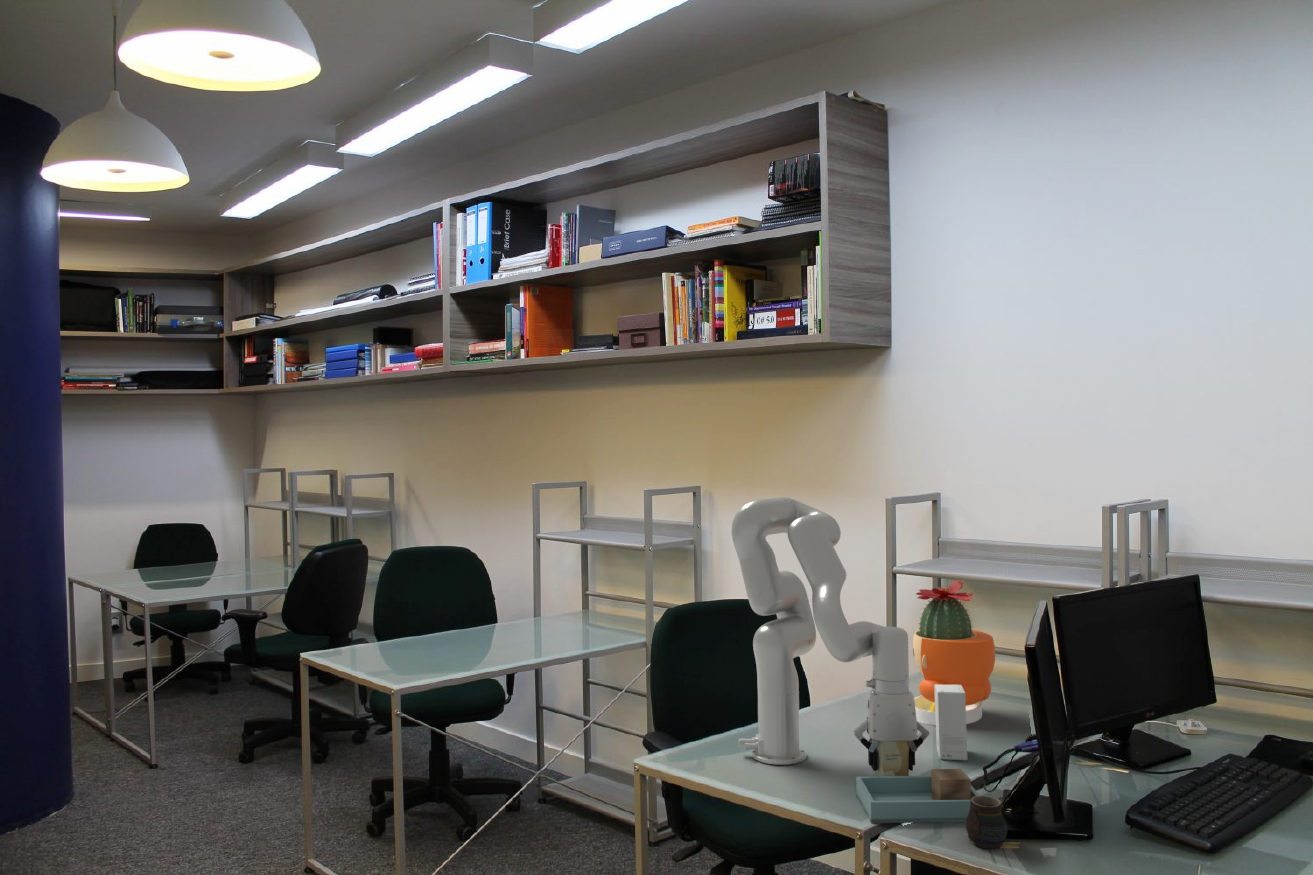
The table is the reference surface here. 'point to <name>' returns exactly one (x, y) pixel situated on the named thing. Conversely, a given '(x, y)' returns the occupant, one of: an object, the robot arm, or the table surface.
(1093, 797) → the table surface
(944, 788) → the walnut block
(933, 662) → the potted cactus
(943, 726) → the skincare box
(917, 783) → the teal tray
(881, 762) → the skincare box
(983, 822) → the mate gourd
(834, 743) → the table surface
